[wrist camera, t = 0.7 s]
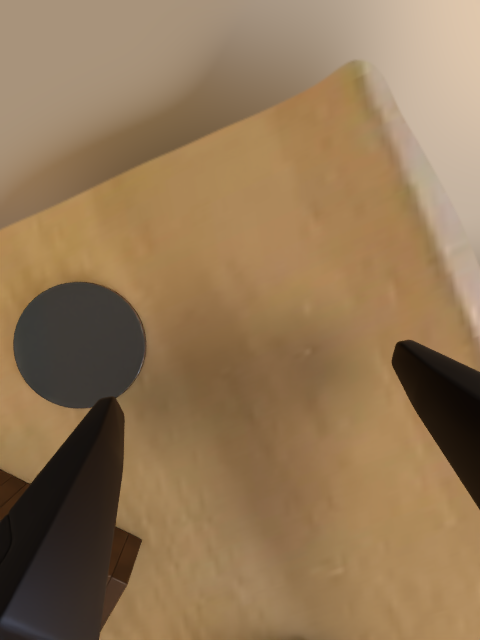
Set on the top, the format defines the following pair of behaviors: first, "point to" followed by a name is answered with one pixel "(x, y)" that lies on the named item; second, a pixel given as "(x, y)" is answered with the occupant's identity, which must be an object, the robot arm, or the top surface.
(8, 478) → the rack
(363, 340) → the top surface
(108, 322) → the coaster
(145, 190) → the top surface
